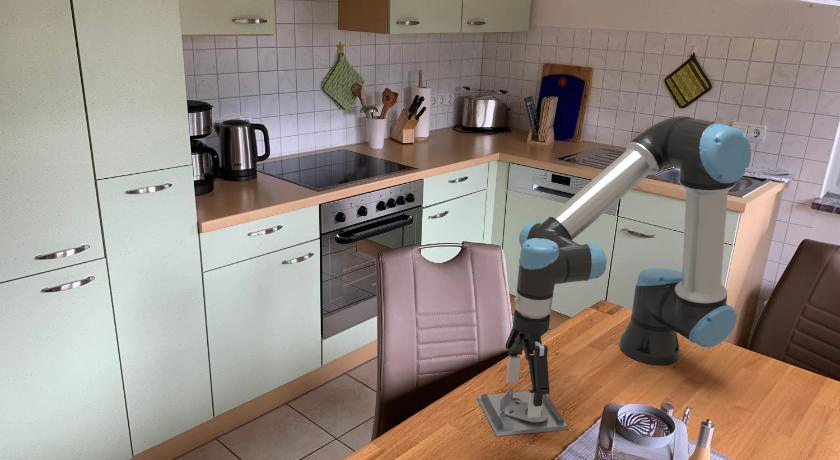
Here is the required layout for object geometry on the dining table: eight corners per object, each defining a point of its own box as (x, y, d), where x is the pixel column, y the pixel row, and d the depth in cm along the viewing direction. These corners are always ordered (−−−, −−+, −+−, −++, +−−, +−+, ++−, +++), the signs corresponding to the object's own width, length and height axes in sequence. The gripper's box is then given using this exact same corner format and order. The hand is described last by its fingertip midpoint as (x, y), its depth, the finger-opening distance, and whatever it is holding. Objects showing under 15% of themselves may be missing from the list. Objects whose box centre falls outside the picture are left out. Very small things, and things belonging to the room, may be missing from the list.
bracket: (542, 428, 138) (543, 414, 137) (498, 412, 143) (500, 399, 142) (552, 413, 143) (554, 400, 142) (510, 399, 148) (512, 385, 147)
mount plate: (542, 393, 153) (543, 387, 152) (567, 429, 140) (568, 422, 139) (477, 398, 149) (478, 392, 149) (496, 436, 136) (497, 429, 136)
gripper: (496, 288, 147) (489, 370, 154) (537, 340, 124) (526, 434, 131) (528, 286, 149) (519, 368, 156) (574, 338, 126) (561, 431, 133)
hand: (522, 398), depth 143 cm, fingers open, 13 cm apart
